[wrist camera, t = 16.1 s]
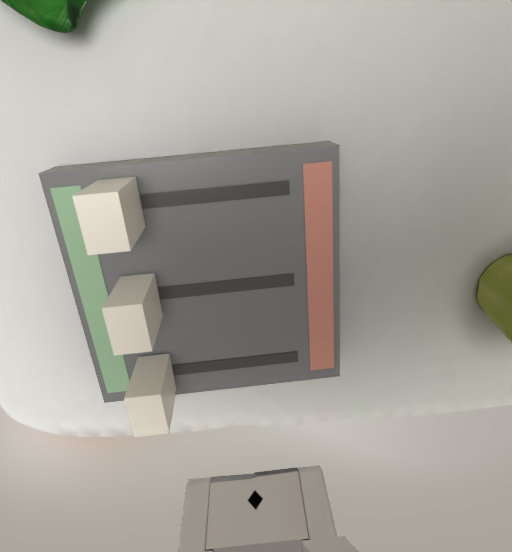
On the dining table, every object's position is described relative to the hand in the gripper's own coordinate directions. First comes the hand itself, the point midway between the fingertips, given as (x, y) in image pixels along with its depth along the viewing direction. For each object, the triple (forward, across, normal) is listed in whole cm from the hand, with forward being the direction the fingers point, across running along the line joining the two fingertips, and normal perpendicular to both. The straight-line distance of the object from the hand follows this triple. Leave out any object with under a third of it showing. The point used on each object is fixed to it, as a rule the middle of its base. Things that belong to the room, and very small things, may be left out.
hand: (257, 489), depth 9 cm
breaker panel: (+24, +3, +5) cm, 25 cm away
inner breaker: (+21, +8, -2) cm, 23 cm away
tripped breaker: (+21, +8, +12) cm, 26 cm away
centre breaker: (+21, +8, +5) cm, 23 cm away
